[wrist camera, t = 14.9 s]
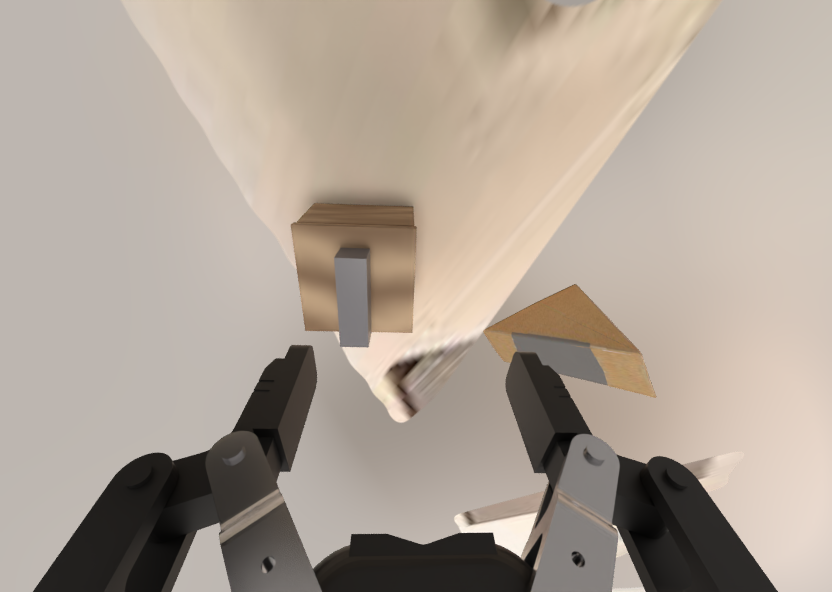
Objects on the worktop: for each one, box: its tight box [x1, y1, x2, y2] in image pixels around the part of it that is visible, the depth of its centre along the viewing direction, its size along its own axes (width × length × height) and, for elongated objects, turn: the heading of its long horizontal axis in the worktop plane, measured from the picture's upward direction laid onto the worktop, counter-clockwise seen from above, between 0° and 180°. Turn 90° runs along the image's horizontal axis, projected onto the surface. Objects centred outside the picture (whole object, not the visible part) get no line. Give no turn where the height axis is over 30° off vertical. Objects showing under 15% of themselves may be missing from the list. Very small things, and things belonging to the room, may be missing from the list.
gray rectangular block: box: [334, 248, 372, 347], centre depth 32 cm, size 10×3×3 cm, turn 177°
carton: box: [297, 203, 414, 226], centre depth 38 cm, size 12×12×7 cm
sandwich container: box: [483, 284, 656, 398], centre depth 42 cm, size 9×15×15 cm, turn 124°
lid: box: [291, 223, 416, 333], centre depth 34 cm, size 12×12×1 cm
